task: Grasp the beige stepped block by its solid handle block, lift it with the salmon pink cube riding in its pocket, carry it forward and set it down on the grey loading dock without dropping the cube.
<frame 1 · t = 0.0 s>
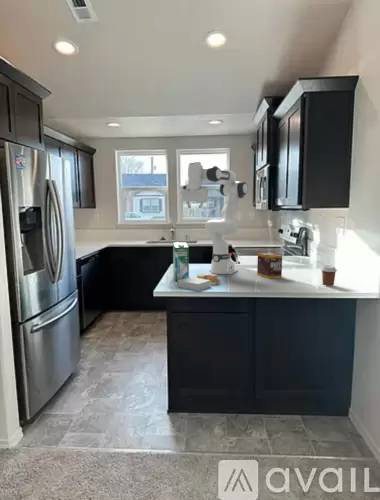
hand: (194, 208, 231), 48 cm above the counter, fingers open, 8 cm apart
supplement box: (269, 276, 249), on the counter
milk carton: (181, 280, 237), on the counter
coffee cup: (328, 285, 219), on the counter
salmon pink cube: (212, 280, 227), point 1 cm above the counter, touching beige stepped block
beige stepped block: (208, 283, 229), on the counter, touching salmon pink cube
dock: (193, 286, 218), on the counter
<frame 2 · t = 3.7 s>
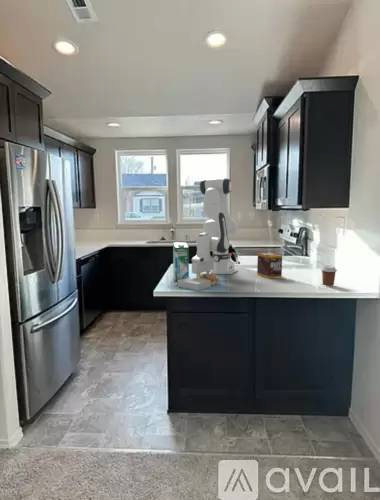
hand: (203, 278, 231), 2 cm above the counter, fingers closed on beige stepped block, 6 cm apart
beige stepped block: (207, 282, 230), on the counter, touching salmon pink cube, gripper
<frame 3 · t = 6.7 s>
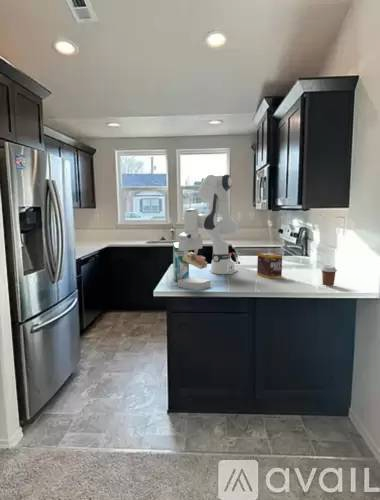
hand: (191, 257, 219), 18 cm above the counter, fingers closed on beige stepped block, 6 cm apart
salmon pink cube: (199, 262, 216), point 15 cm above the counter, tilted 16°, touching beige stepped block
beige stepped block: (194, 263, 218), point 14 cm above the counter, tilted 16°, touching salmon pink cube, gripper
everything else where it was.
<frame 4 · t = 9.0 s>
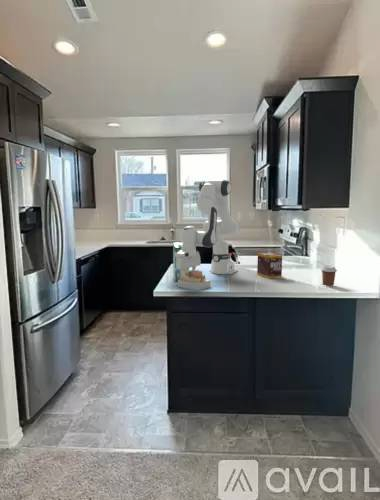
hand: (188, 274, 219), 7 cm above the counter, fingers closed on beige stepped block, 6 cm apart
salmon pink cube: (197, 277, 215), point 6 cm above the counter, touching beige stepped block
beige stepped block: (192, 279, 218), point 4 cm above the counter, touching salmon pink cube, dock, gripper
everything else where it was.
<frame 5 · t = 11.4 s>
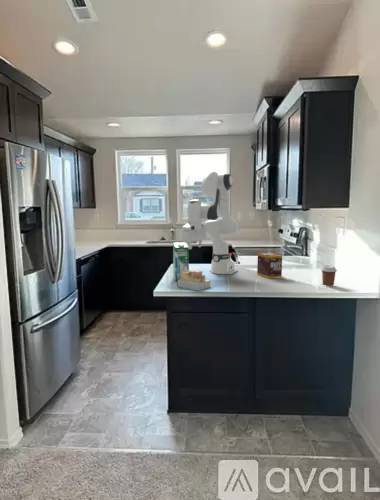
hand: (194, 247, 221), 23 cm above the counter, fingers open, 8 cm apart
beige stepped block: (192, 280, 218), point 4 cm above the counter, touching salmon pink cube, dock
everything else where it was.
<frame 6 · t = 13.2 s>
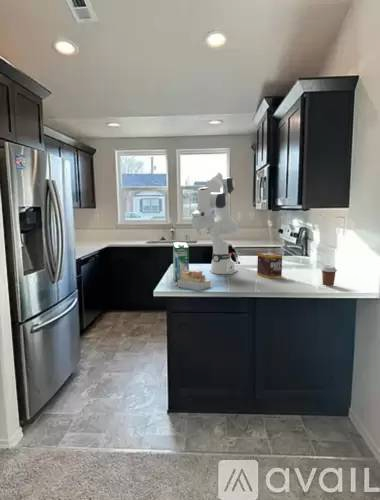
hand: (203, 234, 225), 31 cm above the counter, fingers open, 8 cm apart
nothing on the counter moved.
at the end: beige stepped block inside the target area on the dock (1.1 cm from its centre), point 4.0 cm above the dock's base; salmon pink cube 3.6 cm from the beige stepped block (horizontally); salmon pink cube point 6.0 cm above the counter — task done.
